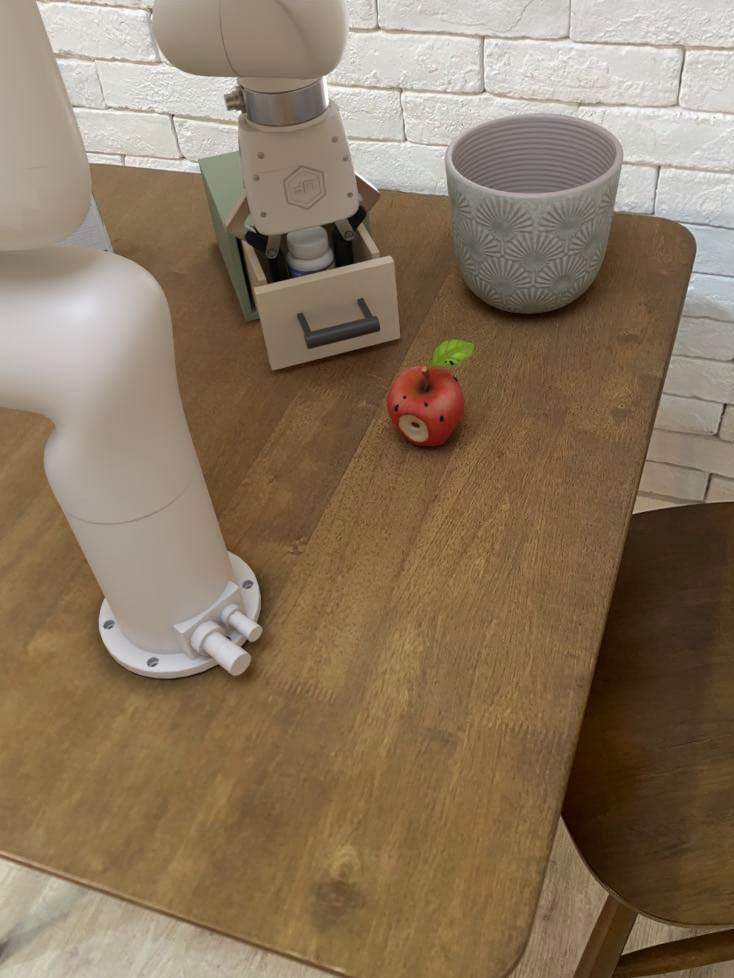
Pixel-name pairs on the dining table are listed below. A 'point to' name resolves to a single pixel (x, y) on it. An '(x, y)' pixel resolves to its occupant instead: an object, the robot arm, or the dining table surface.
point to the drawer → (324, 303)
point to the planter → (532, 207)
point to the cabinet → (222, 196)
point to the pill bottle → (309, 252)
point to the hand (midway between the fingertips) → (313, 276)
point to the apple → (429, 397)
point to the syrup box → (91, 231)
